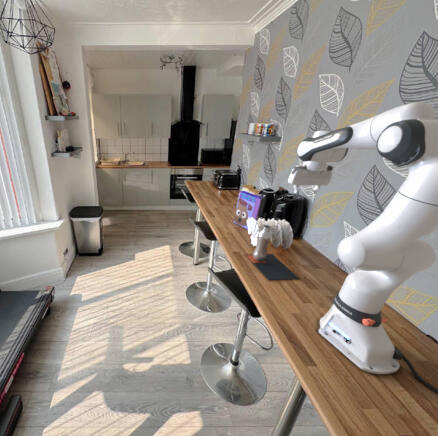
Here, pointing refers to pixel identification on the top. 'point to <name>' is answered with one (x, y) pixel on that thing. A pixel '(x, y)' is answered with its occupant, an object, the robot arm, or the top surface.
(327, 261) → the top surface
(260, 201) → the cereal box
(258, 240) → the plastic bottle
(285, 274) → the mat
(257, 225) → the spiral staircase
